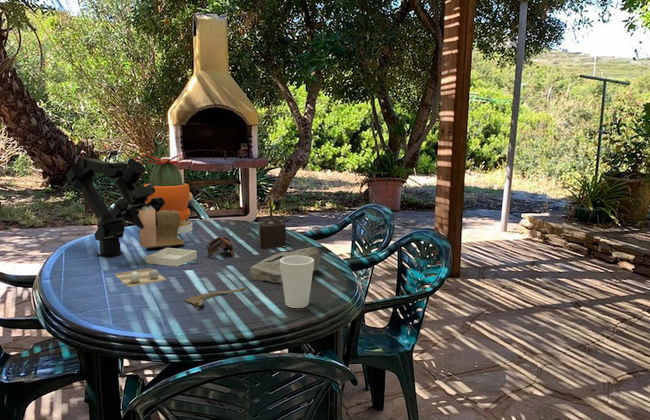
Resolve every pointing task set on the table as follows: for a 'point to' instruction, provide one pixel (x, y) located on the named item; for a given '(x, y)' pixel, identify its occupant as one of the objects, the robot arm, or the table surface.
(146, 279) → the beech board
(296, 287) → the foam cup
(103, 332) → the table surface
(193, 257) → the cream dish
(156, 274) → the grey pebble
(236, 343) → the table surface
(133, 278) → the white pebble
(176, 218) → the brown flared stand
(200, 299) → the jawbone
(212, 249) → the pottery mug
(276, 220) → the brown potted sapling
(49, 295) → the table surface
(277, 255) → the stone
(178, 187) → the potted cactus
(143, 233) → the terracotta jar
